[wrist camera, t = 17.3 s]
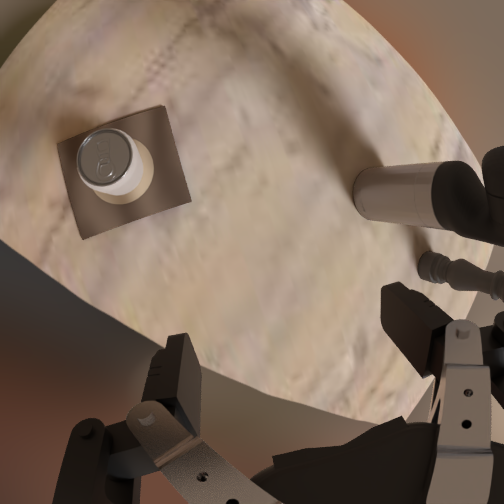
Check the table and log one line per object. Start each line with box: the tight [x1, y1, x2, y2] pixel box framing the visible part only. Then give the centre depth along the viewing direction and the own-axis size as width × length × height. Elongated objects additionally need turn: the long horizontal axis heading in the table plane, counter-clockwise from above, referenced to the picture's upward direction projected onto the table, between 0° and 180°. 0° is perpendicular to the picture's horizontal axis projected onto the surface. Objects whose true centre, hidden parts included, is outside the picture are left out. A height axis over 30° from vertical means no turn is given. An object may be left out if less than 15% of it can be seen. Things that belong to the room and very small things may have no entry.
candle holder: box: [418, 251, 504, 302], centre depth 45 cm, size 6×6×25 cm
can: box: [77, 128, 143, 195], centre depth 30 cm, size 6×6×12 cm
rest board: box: [57, 106, 192, 240], centre depth 37 cm, size 16×14×1 cm
